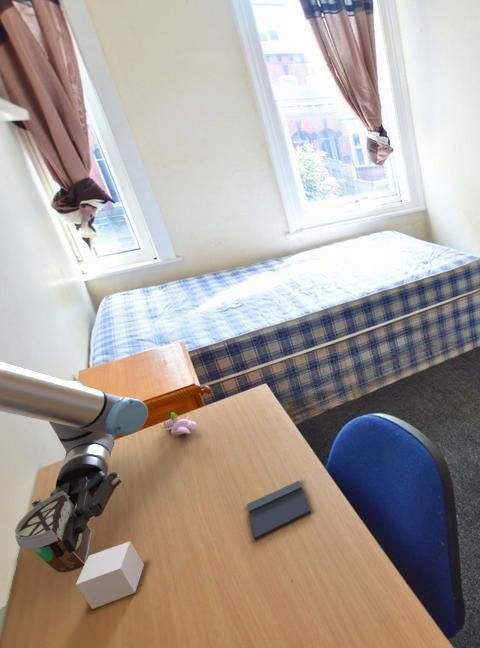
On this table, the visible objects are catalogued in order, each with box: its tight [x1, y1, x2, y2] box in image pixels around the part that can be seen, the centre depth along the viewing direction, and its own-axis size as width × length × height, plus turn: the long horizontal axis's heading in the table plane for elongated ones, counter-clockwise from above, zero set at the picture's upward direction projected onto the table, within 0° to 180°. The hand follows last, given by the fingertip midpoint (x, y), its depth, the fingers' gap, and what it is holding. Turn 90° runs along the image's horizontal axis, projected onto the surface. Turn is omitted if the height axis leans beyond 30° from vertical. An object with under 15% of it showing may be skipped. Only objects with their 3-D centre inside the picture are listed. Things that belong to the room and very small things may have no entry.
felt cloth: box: [247, 480, 311, 541], centre depth 93 cm, size 10×10×1 cm
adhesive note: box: [75, 540, 145, 610], centre depth 80 cm, size 6×6×6 cm
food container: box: [14, 491, 93, 573], centre depth 82 cm, size 12×6×10 cm, turn 35°
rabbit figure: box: [162, 411, 198, 435], centre depth 120 cm, size 6×6×15 cm
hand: (62, 548), depth 78 cm, fingers closed on food container
